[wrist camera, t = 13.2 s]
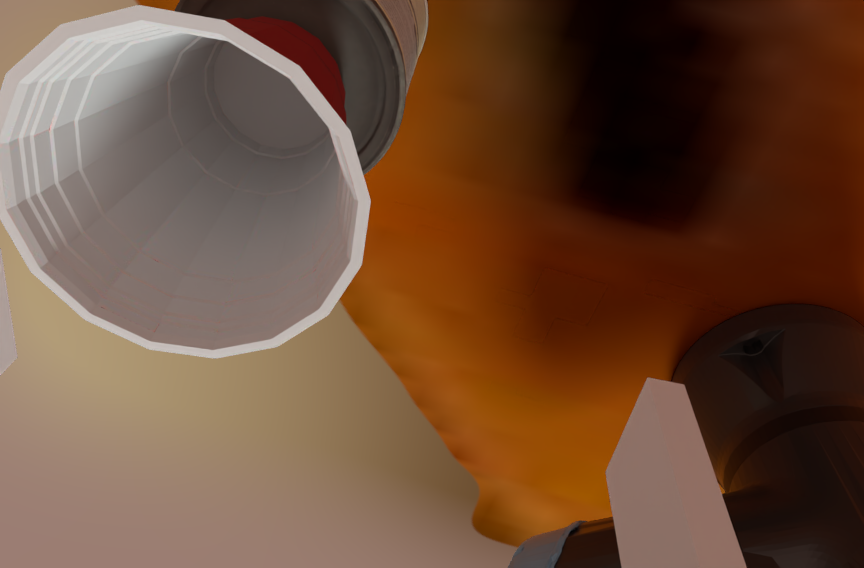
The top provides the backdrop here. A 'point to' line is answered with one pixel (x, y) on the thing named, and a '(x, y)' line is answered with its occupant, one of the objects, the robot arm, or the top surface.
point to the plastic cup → (184, 177)
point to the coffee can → (351, 54)
